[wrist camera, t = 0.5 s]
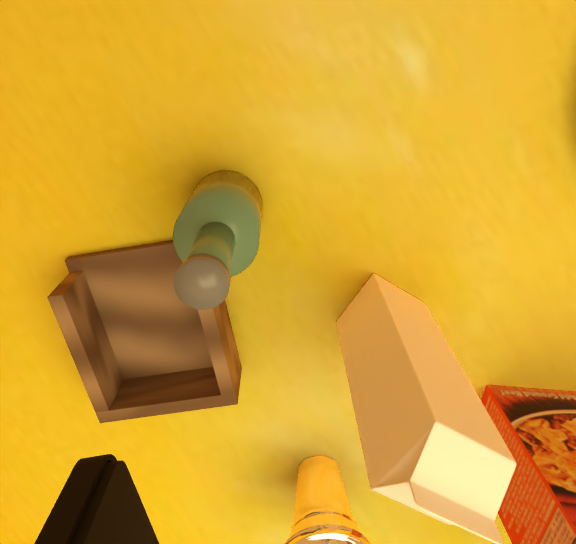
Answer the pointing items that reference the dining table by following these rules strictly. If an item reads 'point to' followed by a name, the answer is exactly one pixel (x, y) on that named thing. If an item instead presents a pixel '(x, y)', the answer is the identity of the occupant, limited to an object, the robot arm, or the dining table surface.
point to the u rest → (143, 336)
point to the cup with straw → (322, 506)
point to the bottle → (216, 237)
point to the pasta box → (537, 462)
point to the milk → (421, 413)
